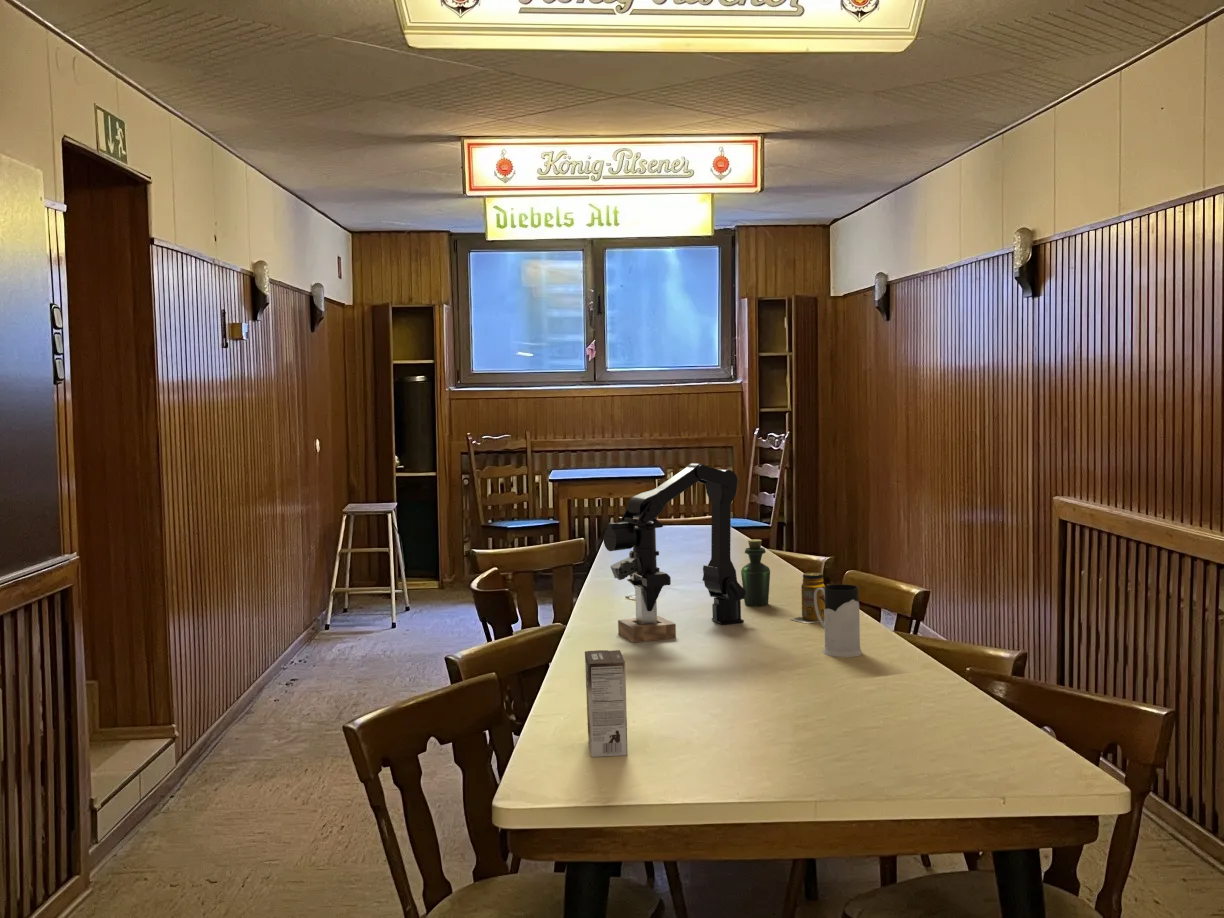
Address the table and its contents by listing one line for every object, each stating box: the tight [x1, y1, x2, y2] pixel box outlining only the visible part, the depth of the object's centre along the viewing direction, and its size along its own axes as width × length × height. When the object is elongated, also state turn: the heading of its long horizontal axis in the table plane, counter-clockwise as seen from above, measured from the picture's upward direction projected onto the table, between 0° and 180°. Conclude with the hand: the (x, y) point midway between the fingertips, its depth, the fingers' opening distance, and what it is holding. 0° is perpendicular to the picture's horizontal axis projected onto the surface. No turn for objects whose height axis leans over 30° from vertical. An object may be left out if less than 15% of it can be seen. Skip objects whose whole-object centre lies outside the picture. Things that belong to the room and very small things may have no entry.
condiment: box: [789, 571, 826, 624], centre depth 294 cm, size 7×8×12 cm
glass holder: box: [814, 583, 863, 658], centre depth 260 cm, size 9×14×15 cm, turn 27°
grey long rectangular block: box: [634, 585, 658, 625], centre depth 281 cm, size 4×4×10 cm
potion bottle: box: [740, 538, 771, 607], centre depth 317 cm, size 8×8×18 cm
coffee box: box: [584, 649, 628, 758], centre depth 195 cm, size 9×6×16 cm
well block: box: [617, 615, 677, 643], centre depth 281 cm, size 11×11×4 cm
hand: (646, 609), depth 281 cm, fingers closed on grey long rectangular block, 4 cm apart
